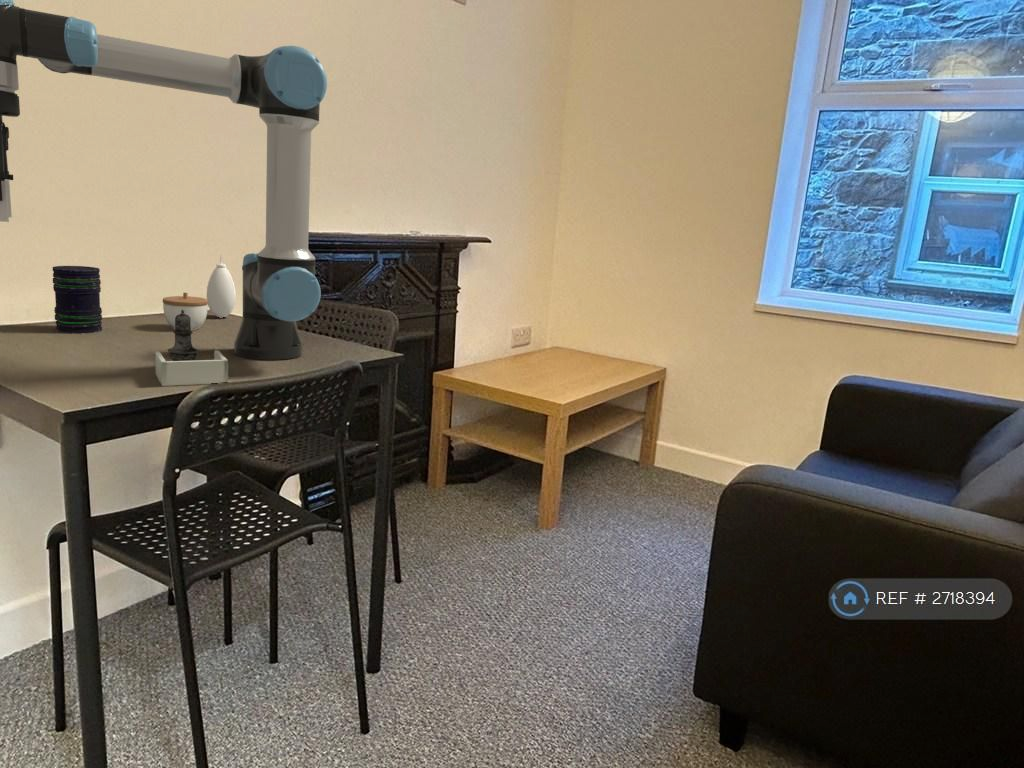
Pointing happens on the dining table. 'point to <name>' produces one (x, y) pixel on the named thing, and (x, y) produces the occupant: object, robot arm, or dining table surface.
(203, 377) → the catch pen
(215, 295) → the white elongated ovoid
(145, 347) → the dining table surface
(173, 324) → the lidded jar
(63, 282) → the storage jar
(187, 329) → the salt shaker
